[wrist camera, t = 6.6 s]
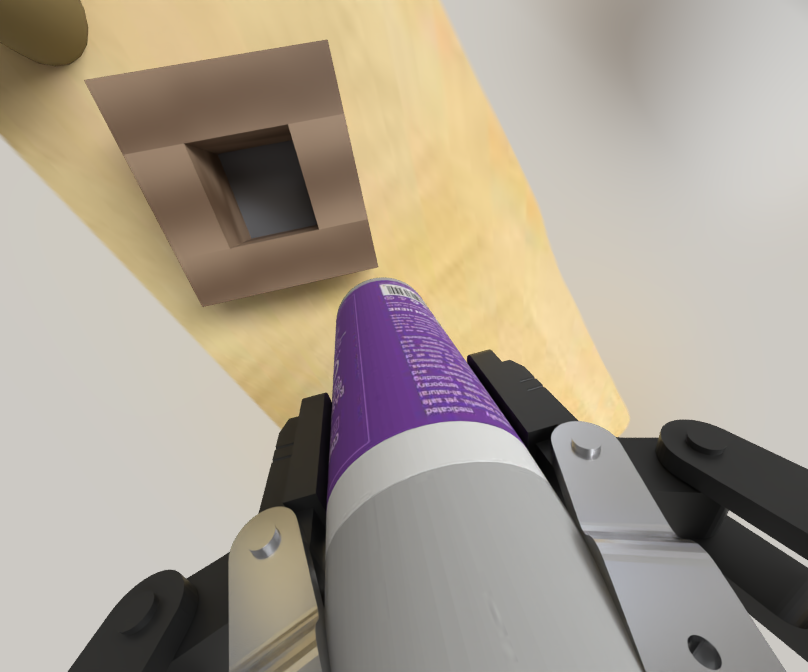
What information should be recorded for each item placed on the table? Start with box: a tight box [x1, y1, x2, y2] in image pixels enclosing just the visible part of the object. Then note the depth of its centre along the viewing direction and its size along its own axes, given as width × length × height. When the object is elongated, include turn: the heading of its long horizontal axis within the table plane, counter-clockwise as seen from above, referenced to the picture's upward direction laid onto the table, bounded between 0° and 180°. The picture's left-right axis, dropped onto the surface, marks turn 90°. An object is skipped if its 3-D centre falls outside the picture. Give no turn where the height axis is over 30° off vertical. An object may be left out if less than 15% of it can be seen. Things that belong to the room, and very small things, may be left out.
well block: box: [84, 40, 378, 307], centre depth 23 cm, size 14×14×6 cm
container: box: [324, 278, 644, 672], centre depth 9 cm, size 5×5×15 cm
